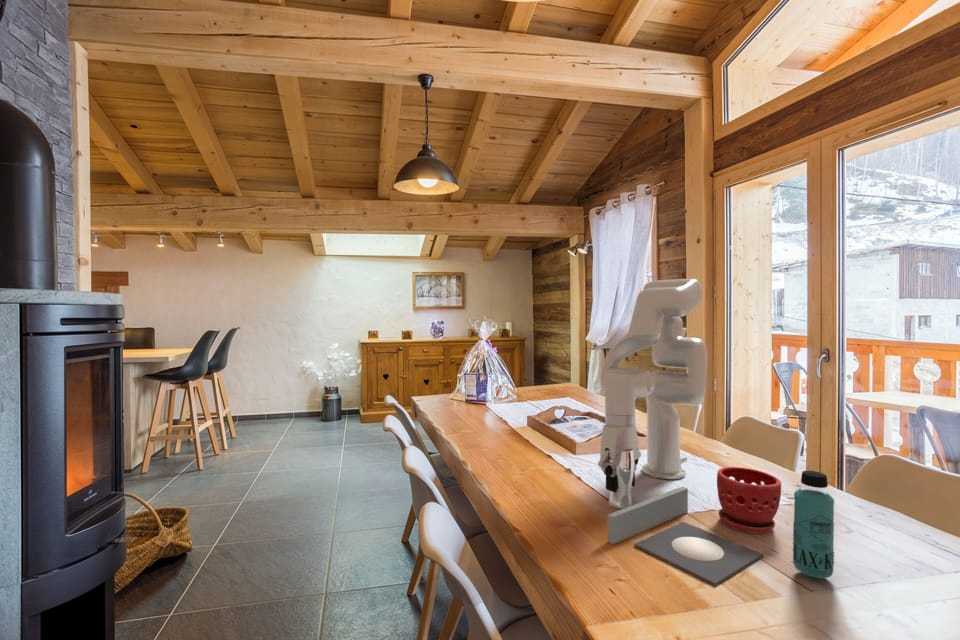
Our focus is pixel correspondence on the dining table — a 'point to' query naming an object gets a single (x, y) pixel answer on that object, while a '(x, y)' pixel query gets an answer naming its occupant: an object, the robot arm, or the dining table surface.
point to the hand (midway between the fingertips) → (620, 487)
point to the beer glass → (623, 481)
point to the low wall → (647, 514)
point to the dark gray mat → (699, 552)
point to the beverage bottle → (813, 527)
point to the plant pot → (748, 499)
